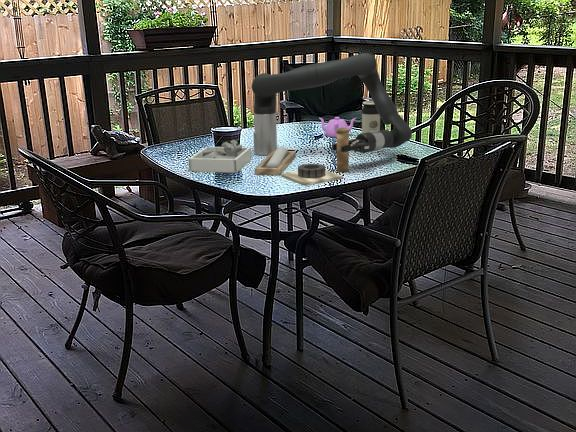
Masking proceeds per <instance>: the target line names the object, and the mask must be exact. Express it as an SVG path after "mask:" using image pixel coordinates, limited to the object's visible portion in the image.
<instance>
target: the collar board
mask: <svg viewBox="0 0 576 432" xmlns="http://www.w3.org/2000/svg"><path fill="white" fill-rule="evenodd" d="M280 177H281V178H285V179H287V180H289V181H292V182H294V183H298V184H301V185H302V186H312V185H318V184H321V183H327V182H332V181H335V180H336V181H337V179H338V180H343V175H342V174H338V173H335V172H332V171H329V170H326V166H325V165H324V164H321V163H303V164H300V165H298V166H297V170H295V171H291V172H285V173H284V172H283V173H282V174H281V175H280Z"/></svg>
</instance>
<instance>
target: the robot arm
mask: <svg viewBox="0 0 576 432" xmlns="http://www.w3.org/2000/svg"><path fill="white" fill-rule="evenodd" d="M353 76H358V78H359V79H360V80H361V82H362V83H363V85H364V86H365V88H366V90H367V91H368V93H369V95H370V97H371V100H372V101H373V102H374V104H375V107H376V109H377V111H378V113H379V115H380V120H381V122H382V123H383V124H384V125H385V126H388V125H392V126H393V127H394V128H393V129H392V130H388V129H380V131H372V132H367V133H362V132H361V133H359V134H357V135H356V137H355V138H351V139H349V145H346V146H342V147H341V152H348V151H349V152H350V153H351V152H354V153H361V154H366V153H370V152H375V151H379V150H381V149H386V148H387V149H388V148H389V149H390V148H391V149H395V148H397V147H400V146H402V145H404V144H405V143H406V142H408V141H410V140H411V138H412V136H413V133H412V132H413V131H412V129H411V127H410V125H409V124H408V123H407V122H406V121H405V120H404V119H403V117H402V116H401V115H400V114H399V113H398V109H397V107H396V106H395V103H394V102H393V100H392V98H391V97H390V94H389V93H388V92H387V90H386V89H385V87H384V84H383V83H382V81H381V79H380V78H381V77H380V75H379V72H378V62H377V59H376V57H375V56H374V54H372V53H369V52H361V53H358V54H355V55H354V54H353V55H352V56H348V57H344V58H342V59H335V60H334V59H333V60H329V61H328V60H327V61H323V62H316V63H312V64H306V65H303V66H300V67H296V68H294V69H291V70H289V71H286V72H281V73H275V74H274V73H273V74H270V73H265V72H262V73H260V74H258V75H257V76H255V77H254V79H253V80H252V81H251V90H252V92H253V94H254V99H253V101H254V102H253V103H254V104H253V119H254V121H253V122H254V131H253V132H252V133H253V152H254V153H253V154H254V155H258V156H268V155H269V154H270V153H271V152H272V151H275V150H276V149H277V148H278V136H277V135H278V132H277V129H278V128H277V94H280V93H283V92H287V91H296V90H297V91H298V90H306V89H312V88H313V89H314V88H316V87H321V86H322V87H323V86H326V85H328V84H331V83H333V82H335V81H337V80H339V79H343V78H347V77H353ZM331 150H332V151H337V143H333V144H331Z"/></svg>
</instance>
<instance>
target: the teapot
mask: <svg viewBox="0 0 576 432" xmlns="http://www.w3.org/2000/svg"><path fill="white" fill-rule="evenodd" d="M318 118H319V120H320V121H321V129H322V131H323V132H324V133H325V135H326V136H327V137H329V138H337V128H348V129H349V132H351V131H352V129H353V127H354V121H355V120H356V119H357V117H355V118H352V119H351V121H350V124H349V125H348V124H347V122H346V121H345V119H343V118H340V116H335V117H334V118H332V119H330V120H328V123H327V124H325V120H324V118H322V117H318Z"/></svg>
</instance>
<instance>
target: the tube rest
mask: <svg viewBox="0 0 576 432" xmlns="http://www.w3.org/2000/svg"><path fill="white" fill-rule="evenodd" d="M274 153H275V151H272V152H271V153H270V154H269V155H266V157H265V158H264V159H263V160H262V161H261V162H260V163H258V165H257V166H255V168H254V175H255V176H281V174H284V172H285V170H286V169H287V168H288V166H289V165H291V163H292V162H293V161H294V160H295V158H296V157H297V155H296V153H297V151H296V150H287V153H288V155H287V156H286V157H285V159H284V160H283V161H282V163H281V164H280V165H279V166H278V167H277V168H267V167H266V165H267V163H268V162H269V160H270V159H271V157H272V156H273V154H274Z"/></svg>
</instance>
